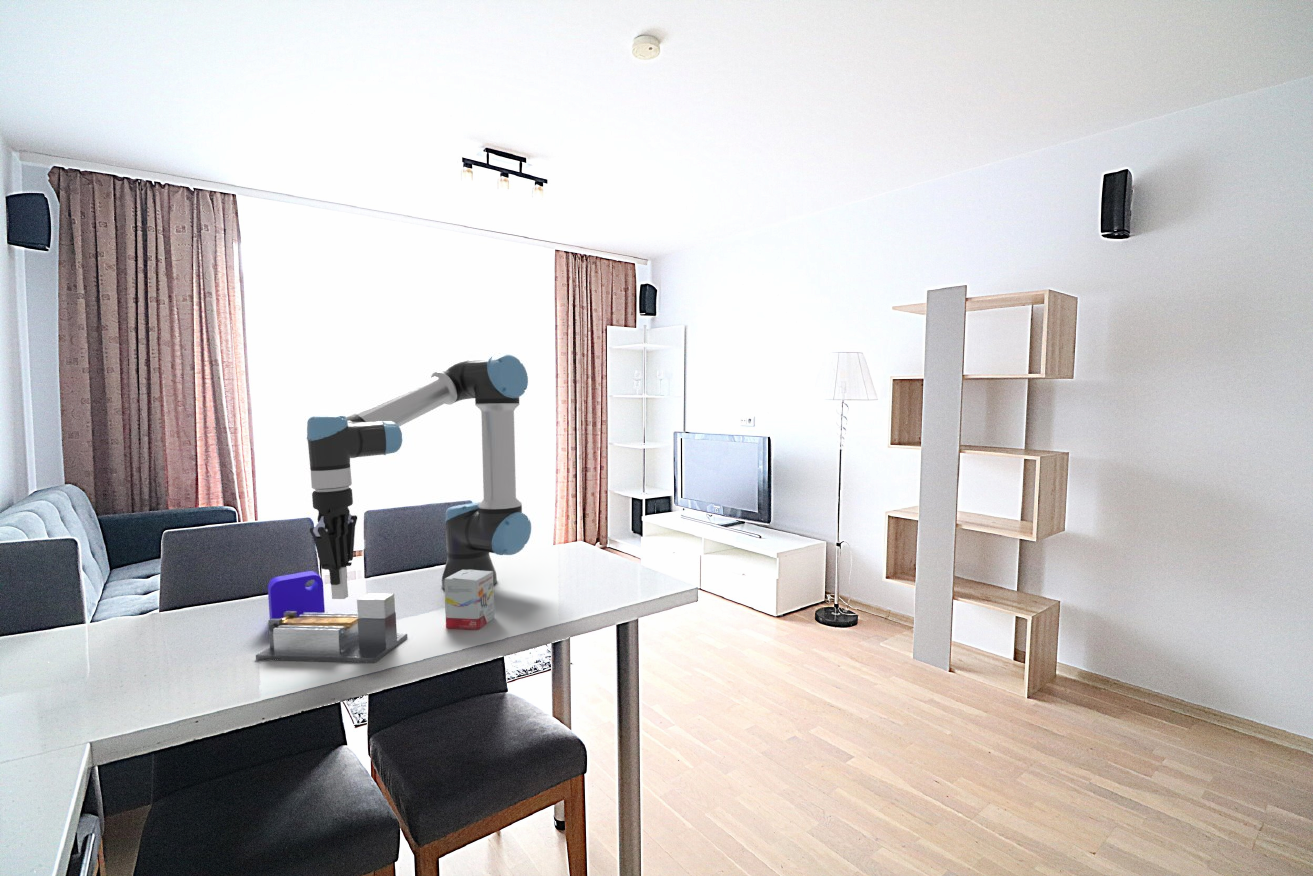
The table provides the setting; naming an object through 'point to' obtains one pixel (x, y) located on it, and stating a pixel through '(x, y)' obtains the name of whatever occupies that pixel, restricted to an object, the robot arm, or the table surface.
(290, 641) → the base
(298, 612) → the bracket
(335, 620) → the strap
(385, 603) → the white block
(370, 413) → the robot arm
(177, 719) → the table surface
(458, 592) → the ink box
